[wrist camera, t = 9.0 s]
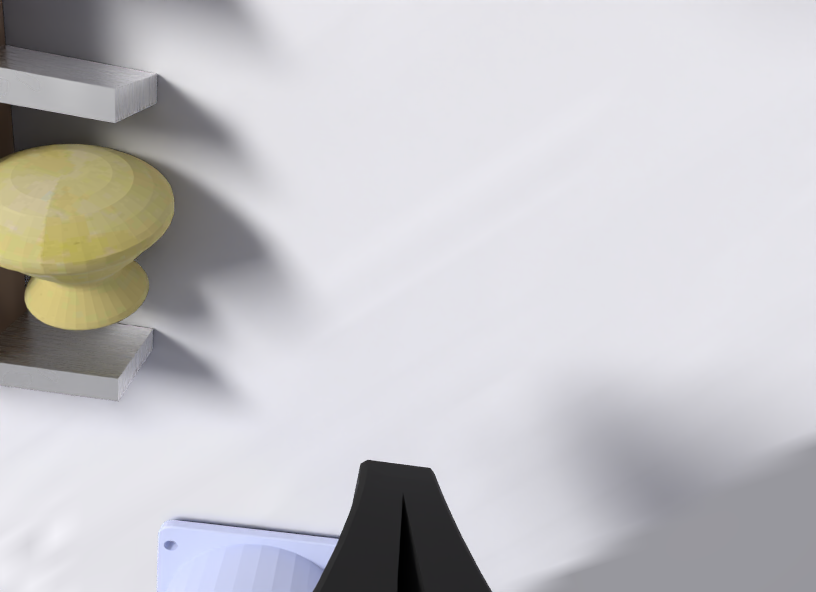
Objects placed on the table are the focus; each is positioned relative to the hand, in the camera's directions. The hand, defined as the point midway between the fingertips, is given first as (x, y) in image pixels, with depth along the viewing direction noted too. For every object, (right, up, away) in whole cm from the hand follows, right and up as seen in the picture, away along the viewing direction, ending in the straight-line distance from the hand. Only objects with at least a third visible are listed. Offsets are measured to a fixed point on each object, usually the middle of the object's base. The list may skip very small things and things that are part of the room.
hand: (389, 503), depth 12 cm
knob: (-9, +7, +7) cm, 13 cm away
